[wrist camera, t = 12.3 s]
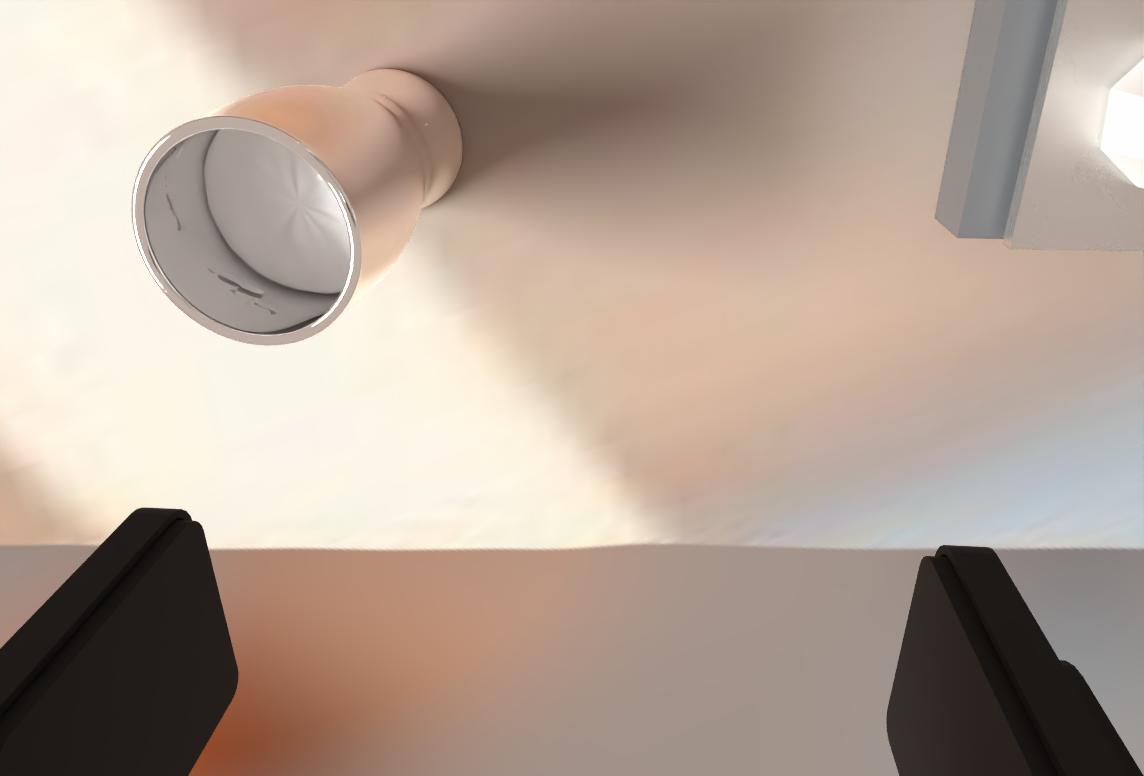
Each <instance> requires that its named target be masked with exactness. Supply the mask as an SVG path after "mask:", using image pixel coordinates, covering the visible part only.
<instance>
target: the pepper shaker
mask: <svg viewBox="0 0 1144 776" xmlns="http://www.w3.org/2000/svg"><path fill="white" fill-rule="evenodd" d="M1101 150H1102V151H1103V152H1104V153H1105V154H1106V156H1107V157H1108V158H1109V159H1110V160H1111V161H1112V162H1113V163H1114V164H1115V165H1116V166H1117V167H1118V168H1119V169H1120V170H1121V171H1122V172H1123V173H1124V174H1125V175H1126V176H1127V177H1128V178H1129V179H1130V180H1131V181H1132V182H1133V183H1134V184H1135V185H1136V186H1137V187H1140V188H1144V58H1143V59H1142V60H1141V61H1140V62H1139V63H1138V64H1137V65H1136V66H1135V67H1134V68H1133V69H1132V70H1130V71H1129V72H1128V73H1127V74H1126V75H1125V76H1124V77H1123V78H1122V79H1121V80H1120V81H1119V82H1117V83H1116V84H1115V85H1114V86H1113V87H1112V88H1111V90H1110V96H1109V102H1108V108H1107V114H1106V120H1105V126H1104V132H1103V138H1102V144H1101Z"/></svg>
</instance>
